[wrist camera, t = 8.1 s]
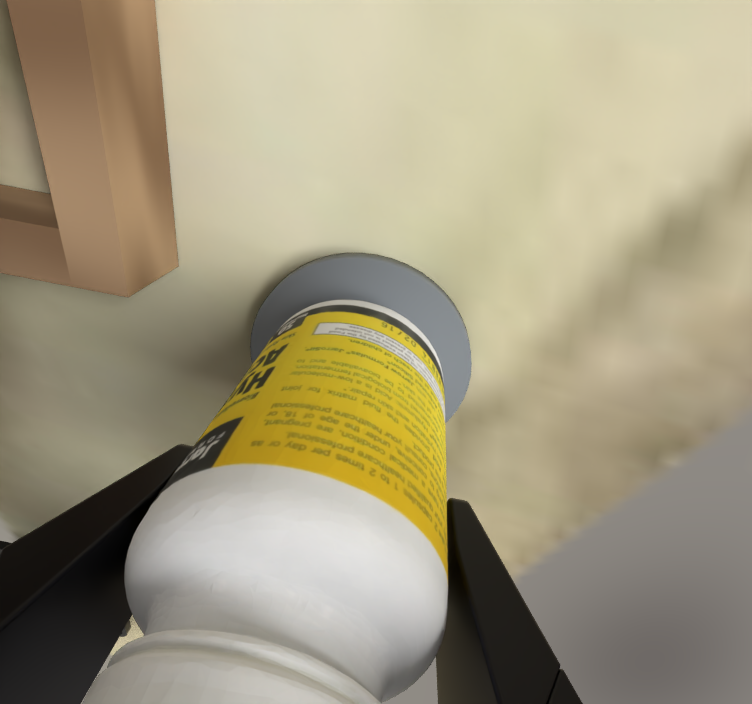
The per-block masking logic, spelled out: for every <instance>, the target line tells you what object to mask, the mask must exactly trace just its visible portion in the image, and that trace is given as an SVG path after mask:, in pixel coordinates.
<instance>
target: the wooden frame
mask: <svg viewBox="0 0 752 704" xmlns="http://www.w3.org/2000/svg"><path fill="white" fill-rule="evenodd" d="M6 1H7V5H8V9H9V14H10V18H11V22H12V27H13V31H14V35H15V40H16V44H17V48H18V53H19V57H20V62H21V66H22V70H23V75H24V79H25V83H26V88H27V92H28V96H29V101H30V105H31V109H32V114H33V118H34V122H35V127H36V131H37V136H38V140H39V144H40V149H41V153H42V157H43V162H44V166H45V170H46V175H47V179H48V183H49V188H50V192H51V194H48V193H42V192H37V191H32V190H26V189H21V188H16V187H10V186H5V185H0V273H4V274H9V275H14V276H19V277H25V278H30V279H35V280H40V281H45V282H51V283H56V284H61V285H66V286H71V287H77V288H82V289H87V290H92V291H98V292H103V293H108V294H113V295H118V296H124V297H130V296H131V295H133V294H135V293H136V292H138V291H139V290H141V289H143V288H144V287H146V286H147V285H149V284H151V283H152V282H154V281H156V280H157V279H159V278H160V277H162V276H164V275H165V274H167V273H168V272H170V271H172V270H173V269H175V268H176V267H178V255H177V244H176V232H175V221H174V210H173V199H172V188H171V177H170V166H169V155H168V144H167V133H166V122H165V111H164V100H163V89H162V78H161V67H160V55H159V44H158V33H157V22H156V11H155V0H6Z"/></svg>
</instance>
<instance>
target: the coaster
mask: <svg viewBox="0 0 752 704" xmlns="http://www.w3.org/2000/svg"><path fill="white" fill-rule="evenodd" d="M331 300H359V301H365V302H369V303H373V304H377V305H380V306H383V307H386V308H388V309H391V310H393V311H395V312H397V313H398V314H400V315H402V316H403V317H405V318H406V319H408V320H409V321H410V322H411V323H413V324H414V325H415V326H416V327H417V328H418V329H419V330H420V331H421V332H422V333H423V334H424V335H425V336H426V338H427V339H428V340H429V342H430V343H431V345H432V346H433V348H434V350H435V352H436V354H437V356H438V358H439V361H440V364H441V368H442V374H443V381H444V393H445V423H446V422H447V421H448V420H449V419H450V418H451V417H452V416H453V414H454V413H455V412H456V411H457V409H458V407H459V406H460V404H461V402H462V401H463V399H464V396H465V394H466V391H467V389H468V385H469V381H470V376H471V351H470V344H469V339H468V335H467V330H466V327H465V325H464V322H463V320H462V317H461V315H460V313H459V311H458V310H457V308H456V306H455V305H454V303H453V302H452V300H451V299H450V298H449V297H448V295H447V294H446V293H445V292H444V291H443V290H442V289H441V288H440V287H439V286H438V285H437V284H436V283H435V282H434V281H433V280H431V279H430V278H429V277H427V276H426V275H424V274H423V273H422V272H420V271H418V270H416V269H415V268H413V267H411V266H409V265H407V264H405V263H402V262H400V261H397V260H395V259H392V258H388V257H384V256H380V255H374V254H366V253H343V254H336V255H330V256H326V257H323V258H319V259H316V260H314V261H311V262H309V263H307V264H305V265H302V266H301V267H299V268H298V269H296V270H295V271H293V272H291V273H290V274H289V275H288V276H287V277H286V278H284V279H283V280H282V281H281V282H280V283H279V284H278V285H277V286H276V288H275V289H274V290H273V291H272V292H271V293H270V295H269V296H268V297H267V298H266V299H265V301H264V303H263V304H262V306H261V308H260V309H259V311H258V314H257V316H256V319H255V321H254V325H253V329H252V333H251V345H250V348H251V360H252V364H253V363H254V362H255V360H256V359H257V358H258V356H259V355H260V353H261V352H262V350H263V348H264V347H265V345H266V344H267V342H268V341H269V340H270V339H271V338H272V336H273V335H274V334H275V333H276V332H277V331H278V329H279V328H280V327H281V326H282V325H283V324H284V323H285V322H286V321H287V320H288V319H290V318H291V317H292V316H293V315H295V314H296V313H298V312H300V311H301V310H303V309H305V308H307V307H309V306H312V305H315V304H318V303H321V302H326V301H331Z"/></svg>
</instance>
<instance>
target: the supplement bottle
mask: <svg viewBox="0 0 752 704" xmlns="http://www.w3.org/2000/svg"><path fill="white" fill-rule="evenodd" d="M124 583H125V590H126V596H127V600H128V604H129V607H130V610H131V612H132V614H133V617H134V619H135V621H136V622H137V624H138V626H139V627H140V629H141V631H142V632H143V634H144V636H143V637H141V638H138V639H136V640H133V641H131V642H129V643H127V644H125V645H124V646H123V647H121V648H120V649H119V650H118V651H116V653H115V654H114V655H113V656H112V658H111V660H110V661H109V664H108V666H107V669H105V670H104V671H103V672H102V673H101V674H99V675H98V677H97V678H96V679H95V681H94V682H93V684H92V685H91V688H90V689H89V691H88V693H87V695H86V697H85V699H84V701H83V703H82V704H381V703H382V702H384V701H386V700H389V699H391V698H393V697H395V696H396V695H398V694H400V693H401V692H403V691H405V690H406V689H408V688H409V687H410V686H411V685H413V684H414V683H415V682H416V681H417V680H418V679H419V678H420V677H421V676H422V675H423V674H424V672H425V671H426V670H427V669H428V667H429V666H430V665H431V663H432V661H433V660H434V658H435V656H436V654H437V652H438V650H439V648H440V646H441V643H442V640H443V636H444V632H445V628H446V622H447V602H448V549H447V497H446V443H445V393H444V381H443V374H442V368H441V364H440V361H439V358H438V356H437V354H436V352H435V350H434V348H433V346H432V345H431V343H430V342H429V340H428V339H427V338H426V336H425V335H424V334H423V333H422V332H421V331H420V330H419V329H418V328H417V327H416V326H415V325H414V324H413V323H411V322H410V321H409V320H408V319H406V318H405V317H403V316H402V315H400V314H398V313H397V312H395V311H393V310H391V309H388V308H386V307H383V306H380V305H377V304H373V303H369V302H365V301H359V300H331V301H326V302H321V303H318V304H315V305H312V306H309V307H307V308H305V309H303V310H301V311H300V312H298V313H296V314H295V315H293V316H292V317H291V318H290V319H288V320H287V321H286V322H285V323H284V324H283V325H282V326H281V327H280V328H279V329H278V331H277V332H276V333H275V334H274V335H273V336H272V338H271V339H270V340H269V341H268V342H267V344H266V345H265V347H264V348H263V350H262V352H261V353H260V355H259V356H258V358H257V359H256V360H255V362H254V363H253V365H252V366H251V367H250V369H249V370H248V371H247V373H246V374H245V376H244V377H243V379H242V380H241V381H240V383H239V384H238V386H237V387H236V389H235V390H234V391H233V393H232V394H231V396H230V397H229V398H228V400H227V401H226V403H225V404H224V405H223V407H222V408H221V409H220V411H219V412H218V414H217V415H216V416H215V418H214V419H213V421H212V422H211V423H210V425H209V426H208V427H207V429H206V430H205V432H204V433H203V434H202V436H201V437H200V439H199V440H198V441H197V443H196V444H195V445H194V447H193V448H192V450H191V451H190V452H189V453H188V455H187V456H186V458H185V459H184V461H183V462H182V463H181V465H180V466H179V467H178V469H177V470H176V471H175V473H174V474H173V475H172V476H171V478H170V479H169V481H168V482H167V484H166V485H165V486H164V488H163V489H162V490H161V491H160V493H159V494H158V496H157V497H156V499H155V500H154V501H153V503H152V504H151V506H150V508H149V510H148V512H147V513H146V515H145V516H144V518H143V520H142V521H141V523H140V524H139V526H138V528H137V529H136V531H135V533H134V535H133V538H132V541H131V543H130V546H129V549H128V553H127V557H126V562H125V571H124Z"/></svg>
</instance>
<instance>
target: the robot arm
mask: <svg viewBox="0 0 752 704" xmlns="http://www.w3.org/2000/svg"><path fill="white" fill-rule="evenodd" d="M193 447H194V446H189V445H184V444H180V445H177V446H175V447H173V448H172V449H170V450H168V451H167V452H165V453H163V454H162V455H160V456H158V457H157V458H155V459H153V460H151V461H150V462H148V463H146V464H145V465H143V466H141V467H140V468H138V469H136V470H135V471H133V472H131V473H130V474H128V475H126V476H124V477H123V478H121V479H119V480H118V481H116V482H114V483H113V484H111V485H109V486H108V487H106V488H104V489H103V490H101V491H99V492H97V493H96V494H94V495H92V496H91V497H89V498H87V499H86V500H84V501H82V502H81V503H79V504H77V505H76V506H74V507H72V508H70V509H69V510H67V511H65V512H64V513H62V514H60V515H59V516H57V517H55V518H54V519H52V520H50V521H49V522H47V523H45V524H44V525H42V526H40V527H38V528H37V529H35V530H33V531H32V532H30V533H28V534H27V535H25V536H23V537H22V538H20V539H18V540H17V541H15V542H13V543H8V542H4V541H0V704H81V702H82V700H83V698H84V697H85V695H86V693H87V692H88V690H89V688H90V686H91V685H92V683H93V681H94V679H95V678H96V676H97V674H98V673H99V671H100V669H101V667H102V666H103V664H104V662H105V661H106V659H107V657H108V655H109V654H110V652H111V650H112V648H113V647H114V645H115V643H116V642H117V640H118V638H119V636H121V637H124V636H126V635H127V633H128V632H129V630H130V628H131V625H130V621H129V619H130V617H131V616H132V612H131V610H130V607H129V604H128V600H127V596H126V590H125V583H124V571H125V562H126V557H127V553H128V549H129V546H130V543H131V541H132V538H133V535H134V533H135V531H136V529H137V528H138V526H139V524H140V523H141V521H142V520H143V518H144V516H145V515H146V513H147V512H148V510H149V508H150V506H151V504H152V503H153V501H154V500H155V499H156V497H157V496H158V494H159V493H160V491H161V490H162V489H163V488H164V486H165V485H166V484H167V482H168V481H169V479H170V478H171V476H172V475H173V474H174V473H175V471H176V470H177V469H178V467H179V466H180V465H181V463H182V462H183V461H184V459H185V458H186V456H187V455H188V453H189V452H190V451H191V450H192V448H193ZM447 549H448V602H447V622H446V628H445V632H444V636H443V640H442V643H441V646H440V648H439V650H438V652H437V654H436V668H437V690H438V704H583V703H582V702H581V700H580V698H579V697H578V695H577V693H576V691H575V690H574V688H573V686H572V684H571V683H570V681H569V679H568V677H567V675H566V674H565V672H564V670H563V669H560V663H559V662H558V660H557V658H556V656H555V655H554V653H553V651H552V649H551V647H550V646H549V644H548V642H547V640H546V639H545V637H544V635H543V633H542V632H541V630H540V628H539V626H538V624H537V623H536V621H535V619H534V617H533V616H532V614H531V612H530V610H529V608H528V607H527V605H526V603H525V601H524V600H523V598H522V596H521V595H520V593H519V591H518V589H517V587H516V585H515V584H514V582H513V580H512V578H511V577H510V575H509V573H508V571H507V570H506V568H505V566H504V564H503V562H502V561H501V559H500V557H499V555H498V554H497V552H496V550H495V548H494V547H493V545H492V543H491V541H490V539H489V538H488V536H487V534H486V532H485V531H484V529H483V527H482V525H481V523H480V522H479V520H478V518H477V516H476V515H475V513H474V511H473V509H472V508H471V506H470V504H469V503H468V502H467V501H465V500H460V499H455V498H450V499H449V500H448V501H447Z"/></svg>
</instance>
